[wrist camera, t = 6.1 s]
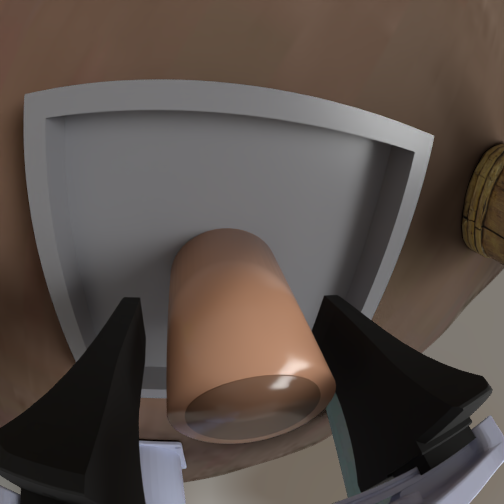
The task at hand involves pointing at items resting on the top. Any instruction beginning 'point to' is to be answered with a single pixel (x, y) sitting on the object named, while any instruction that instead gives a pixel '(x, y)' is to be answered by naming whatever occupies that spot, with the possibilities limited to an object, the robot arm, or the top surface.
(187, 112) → the gray tray
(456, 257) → the top surface
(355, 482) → the disposable coffee cup
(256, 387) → the terracotta cup
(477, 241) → the wooden mug
